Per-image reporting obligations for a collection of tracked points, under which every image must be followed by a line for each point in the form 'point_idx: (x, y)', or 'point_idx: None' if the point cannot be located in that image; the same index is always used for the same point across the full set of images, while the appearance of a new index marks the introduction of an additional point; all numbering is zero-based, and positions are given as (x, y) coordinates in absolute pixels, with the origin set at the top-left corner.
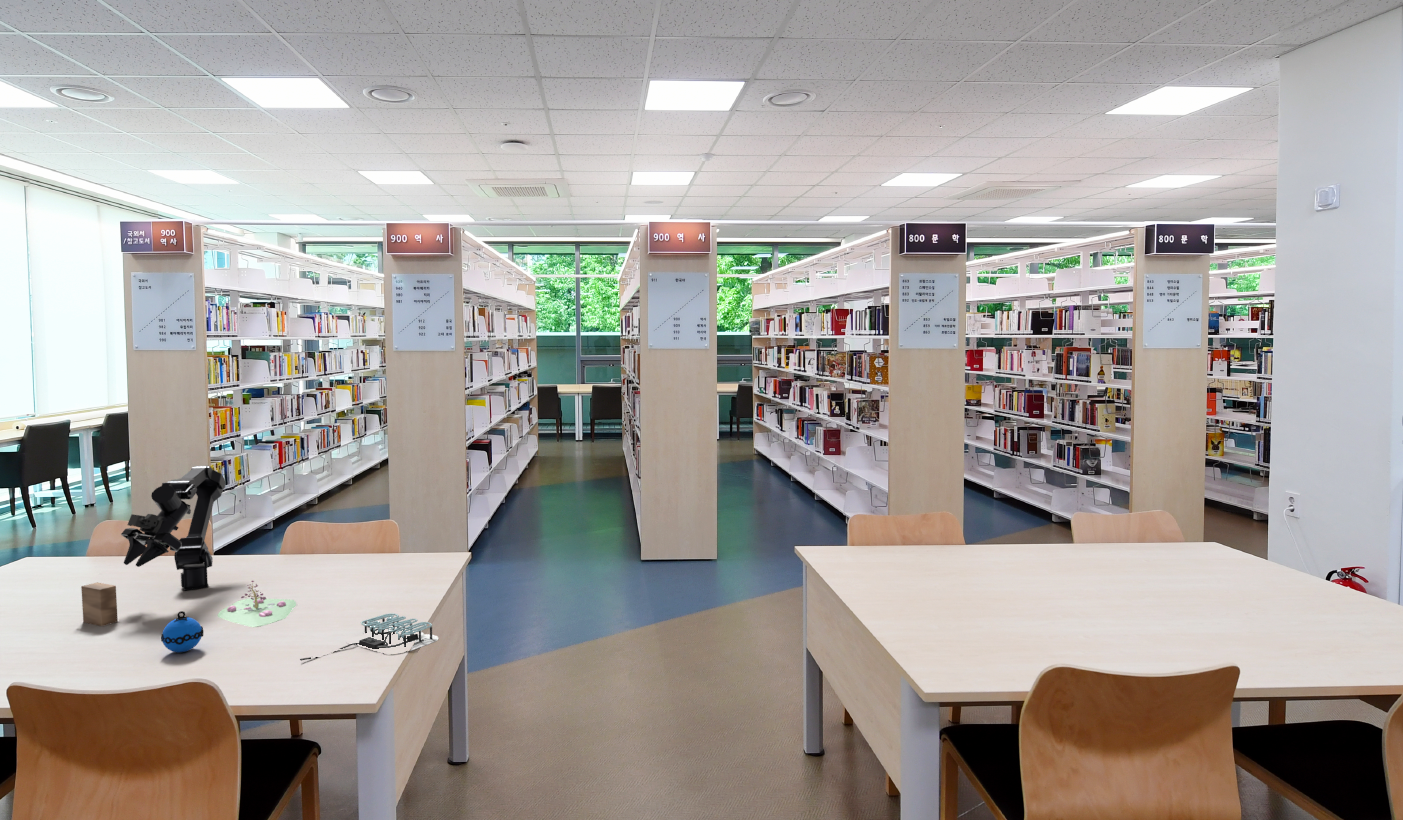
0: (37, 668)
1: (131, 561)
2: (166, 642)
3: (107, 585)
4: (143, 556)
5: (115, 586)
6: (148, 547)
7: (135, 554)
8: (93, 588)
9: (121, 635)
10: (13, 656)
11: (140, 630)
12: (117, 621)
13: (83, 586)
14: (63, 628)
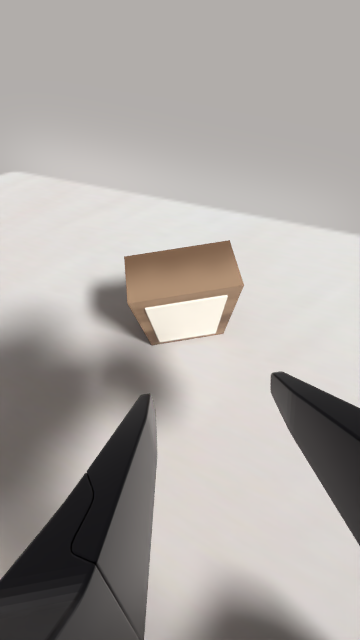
0: (27, 194)
1: (289, 426)
2: None
3: (160, 288)
4: (102, 455)
5: (128, 303)
6: (33, 592)
7: (343, 485)
8: (161, 251)
9: (47, 311)
10: (113, 191)
11: (38, 346)
12: (152, 344)
13: (219, 242)
14: None
